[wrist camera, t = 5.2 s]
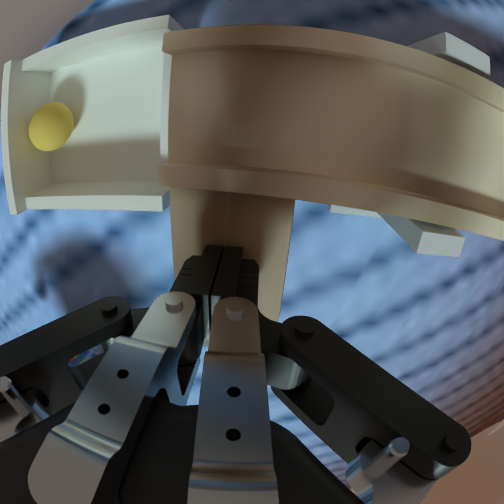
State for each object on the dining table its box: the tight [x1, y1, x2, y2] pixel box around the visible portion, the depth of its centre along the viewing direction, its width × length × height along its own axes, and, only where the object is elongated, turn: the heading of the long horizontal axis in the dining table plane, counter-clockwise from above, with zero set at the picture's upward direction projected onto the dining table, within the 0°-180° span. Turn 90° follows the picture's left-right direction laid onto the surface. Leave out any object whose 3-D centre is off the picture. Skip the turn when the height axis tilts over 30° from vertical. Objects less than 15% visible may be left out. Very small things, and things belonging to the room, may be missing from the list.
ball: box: [29, 102, 74, 151], centre depth 13 cm, size 3×3×3 cm
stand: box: [328, 32, 490, 257], centre depth 11 cm, size 6×11×8 cm, turn 176°
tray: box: [1, 15, 185, 215], centre depth 12 cm, size 11×10×5 cm
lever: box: [158, 24, 504, 321], centre depth 9 cm, size 22×12×3 cm, turn 86°
